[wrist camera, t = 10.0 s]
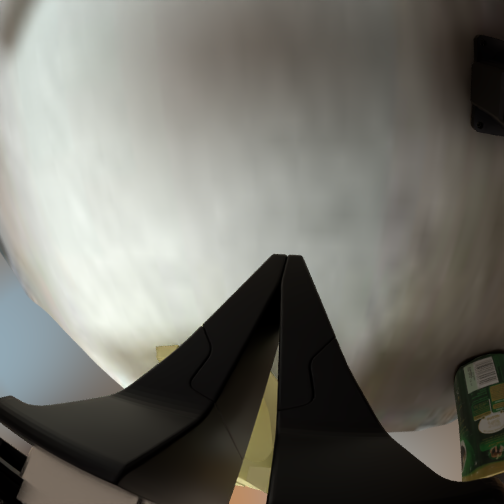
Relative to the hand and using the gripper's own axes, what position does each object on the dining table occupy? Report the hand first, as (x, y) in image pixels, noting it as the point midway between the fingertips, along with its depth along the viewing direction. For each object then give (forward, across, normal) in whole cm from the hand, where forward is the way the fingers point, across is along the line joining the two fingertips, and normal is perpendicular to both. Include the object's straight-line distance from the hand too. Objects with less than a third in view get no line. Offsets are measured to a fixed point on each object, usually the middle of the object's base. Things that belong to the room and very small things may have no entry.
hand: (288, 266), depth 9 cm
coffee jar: (+13, -23, +27) cm, 38 cm away
